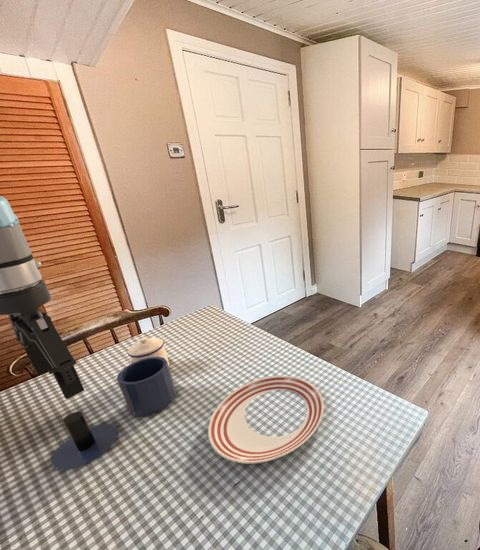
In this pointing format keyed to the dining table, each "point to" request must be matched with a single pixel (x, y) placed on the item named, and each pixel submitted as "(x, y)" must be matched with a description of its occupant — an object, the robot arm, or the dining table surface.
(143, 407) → the dark grey canister
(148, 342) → the teacup with lid
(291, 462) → the dining table surface
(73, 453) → the pot lid
